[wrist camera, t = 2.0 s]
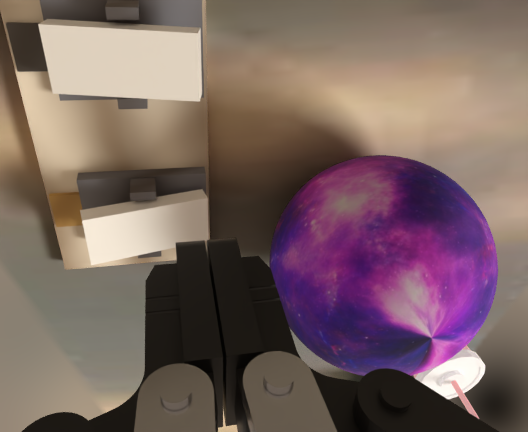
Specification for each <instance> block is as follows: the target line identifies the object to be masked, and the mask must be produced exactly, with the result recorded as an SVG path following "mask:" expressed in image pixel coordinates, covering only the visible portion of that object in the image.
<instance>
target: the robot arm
mask: <svg viewBox="0 0 528 432" xmlns="http://www.w3.org/2000/svg"><path fill="white" fill-rule="evenodd" d="M175 244H176V258H177V263H175V264H164V265H155V266H154V268H153V269H152V271H151V273H150V274H149V276H148V278H147V280H146V306H145V313H146V316H145V372H144V377H143V380H142V382H141V384H140V386H139V388H138V389H137V391H136V392H135V393H134V394H133V396H132V397H131V398H129V399H128V400H127V401H126V402H125V403H123V404H122V405H120V406H119V407H117V408H115V409H113V410H111V411H109V412H107V413H104V414H102V415H100V416H98V417H96V418H93V419H91V420H89V421H88V420H87V419H85V418H84V417H83V416H80V415H78V414H75V413H69V412H61V413H54V414H51V415H47V416H45V417H42V418H40V419H39V420H37V421H35V422H33V423H32V424H30V425H29V426H28V427H26V428H25V429H24V430H23V431H22V432H218V427H223V409H224V416H225V424H226V426H230V425H236V424H237V429H238V432H499V431H497V430H496V429H494V428H492V427H491V426H489V425H488V424H486V423H484V422H483V421H481V420H480V419H478V418H477V417H475V416H473V415H472V414H470V413H469V412H467V411H465V410H464V409H462V408H461V407H459V406H458V405H456V404H454V403H453V402H451V401H449V400H448V399H446V398H445V397H443V396H442V395H440V394H439V393H437V392H435V391H434V390H432V389H431V388H429V387H427V386H426V385H424V384H423V383H421V382H420V381H418V380H416V379H415V378H413V377H412V376H410V375H408V374H406V373H404V372H402V371H399V370H395V369H389V368H381V369H375V370H373V371H370V372H369V373H367V374H366V375H365V376H364V377H363V378H362V379H361V381H360V382H356V381H350V380H344V379H337V378H332V377H328V376H325V375H322V374H320V373H318V372H316V371H314V370H313V369H311V368H310V367H309V366H308V365H307V364H306V363H305V362H304V361H303V360H302V359H301V358H300V356H299V354H298V352H297V350H296V347H295V344H294V341H293V338H292V335H291V331H290V328H289V325H288V322H287V319H286V316H285V312H284V309H283V306H282V303H281V301H280V296H279V293H278V290H277V288H276V284H275V281H274V277H273V274H272V271H271V269H270V268H269V267H268V266H267V265H266V263H265V262H264V261H263V260H262V259H261V258H260V257H259V256H253V257H242V258H241V255H240V251H239V246H238V242H237V239H236V238H225V239H212V240H207V250H206V244H205V240H201V241H189V242H176V243H175Z"/></svg>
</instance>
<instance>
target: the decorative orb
mask: <svg viewBox="0 0 528 432" xmlns="http://www.w3.org/2000/svg"><path fill="white" fill-rule="evenodd" d="M270 269H271V271H272V274H273V277H274V281H275V284H276V288H277V290H278V293H279V296H280V301H281V303H282V306H283V309H284V312H285V316H286V319H287V322H288V325H289V327H290V329H291V330H292V331H293V332H294V334H295V335H296V336H297V337H298V339H299V340H300V341H301V342H302V343H303V344H304V345H305V346H306V347H307V348H309V349H310V350H311V351H312V352H313V353H315V354H316V355H317V356H319V357H320V358H322V359H323V360H325V361H327V362H328V363H330V364H332V365H334V366H336V367H338V368H340V369H343V370H345V371H348V372H351V373H354V374H358V375H363V376H365V375H366V374H367V373H369V372H370V371H373V370H375V369H381V368H389V369H395V370H399V371H402V372H404V373H406V374H408V375H415V374H418V373H421V372H424V371H427V370H430V369H432V368H434V367H436V366H439V365H441V364H442V363H444V362H446V361H447V360H449V359H450V358H452V357H453V356H455V355H456V354H457V353H458V352H460V351H461V350H462V349H463V348H464V347H465V346H466V345H467V344H468V343H469V342H470V341H471V340H472V339H473V337H474V336H475V335H476V334H477V332H478V331H479V329H480V328H481V326H482V325H483V323H484V321H485V319H486V317H487V315H488V313H489V311H490V308H491V306H492V303H493V299H494V295H495V291H496V285H497V276H498V265H497V254H496V248H495V243H494V240H493V237H492V234H491V231H490V228H489V226H488V223H487V221H486V219H485V217H484V216H483V214H482V212H481V210H480V209H479V207H478V206H477V205H476V203H475V202H474V200H473V199H472V198H471V197H470V196H469V195H468V194H467V192H466V191H465V190H464V189H463V188H462V187H460V186H459V185H458V184H457V183H456V182H455V181H453V180H452V179H451V178H449V177H448V176H447V175H445V174H443V173H442V172H440V171H438V170H437V169H435V168H433V167H431V166H428V165H426V164H424V163H421V162H418V161H415V160H411V159H407V158H402V157H396V156H386V155H376V156H366V157H359V158H355V159H350V160H347V161H344V162H341V163H338V164H336V165H334V166H331V167H329V168H328V169H326V170H324V171H322V172H320V173H319V174H317V175H316V176H315V177H313V178H312V179H311V180H309V181H308V182H307V183H306V184H305V185H304V186H303V187H302V188H301V189H300V190H299V191H298V192H297V193H296V194H295V195H294V196H293V198H292V199H291V200H290V202H289V203H288V205H287V206H286V208H285V209H284V211H283V213H282V215H281V217H280V219H279V221H278V224H277V226H276V229H275V232H274V235H273V239H272V244H271V251H270Z"/></svg>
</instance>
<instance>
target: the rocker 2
mask: <svg viewBox="0 0 528 432" xmlns="http://www.w3.org/2000/svg"><path fill="white" fill-rule="evenodd" d="M80 213H81V218H82V223H83V228H84V233H85V237H86V242H87V247H88V252H89V257H90V261H91V265H96V264H100V263H105V262H110V261H114V260H119V259H124V258H128V257H133V256H138V255H142V254H147V253H152V252H156V251H161V250H166V249H170V248H175V247H176V244H175V243H176V242H189V241H201V240H205V241H207V240H208V198H207V196H206V194H205V193H204V191H203V189H200V190H194V191H188V192H183V193H177V194H171V195H165V196H159V197H156V200H140V201H130V202H125V203H119V204H113V205H107V206H101V207H96V208H90V209H84V210H80Z"/></svg>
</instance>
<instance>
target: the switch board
mask: <svg viewBox="0 0 528 432" xmlns="http://www.w3.org/2000/svg"><path fill="white" fill-rule="evenodd" d="M0 12H1V16H2V20H3V24H4V28H5V32H6V36H7V40H8V44H9V48H10V52H11V56H12V60H13V64H14V68H15V72H16V76H17V80H18V84H19V88H20V92H21V96H22V100H23V104H24V108H25V111H26V115H27V119H28V123H29V127H30V131H31V135H32V139H33V143H34V147H35V151H36V155H37V159H38V163H39V167H40V171H41V175H42V179H43V183H44V187H45V191H46V195H47V199H48V203H49V207H50V211H51V214H52V218H53V222H54V226H55V230H56V234H57V238H58V242H59V246H60V250H61V254H62V258H63V262H64V266H65V270H66V269H78V268H89V267H101V266H113V265H124V264H136V263H147V262H159V261H170V260H177V258H176V247H175V248H170V249H166V250H161V251H156V252H152V253H147V254H142V255H138V256H133V257H128V258H124V259H119V260H114V261H110V262H105V263H100V264H96V265H91V261H90V257H89V252H88V247H87V242H86V237H85V233H84V228H83V223H82V218H81V213H80V210H84V209H90V208H96V207H101V206H107V205H113V204H119V203H125V202H130V201H140V200H156V197H159V196H165V195H171V194H177V193H183V192H188V191H194V190H200V189H203V191H204V193H205V194H206V196H207V198H208V240H210V215H209V156H208V98H207V40H206V0H0ZM46 19H59V20H76V21H93V22H111V23H128V24H145V25H162V26H180V27H197V28H200V29H201V71H202V96H201V98H200V101H199V102H197V101H179V100H161V99H142V98H124V97H106V96H88V95H69V94H53V92H52V87H51V82H50V78H49V73H48V68H47V64H46V59H45V54H44V49H43V45H42V40H41V35H40V31H39V26H38V24H39V23H41V22H43V21H45V20H46ZM205 244H206V250H207V241H205Z"/></svg>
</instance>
